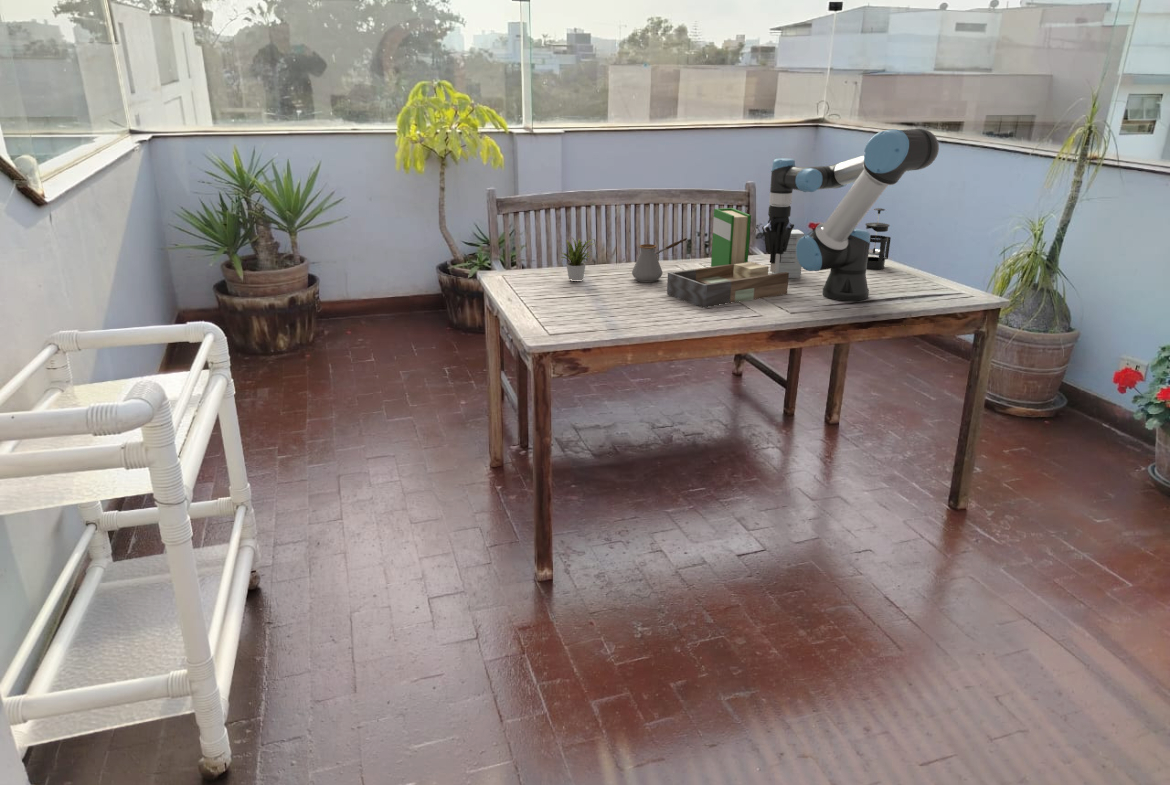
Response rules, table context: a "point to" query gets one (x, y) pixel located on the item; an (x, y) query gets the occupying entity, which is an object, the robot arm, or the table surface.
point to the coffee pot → (649, 263)
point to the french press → (879, 262)
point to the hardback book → (730, 237)
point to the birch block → (749, 270)
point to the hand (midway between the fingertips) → (774, 271)
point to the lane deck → (723, 285)
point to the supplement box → (791, 256)
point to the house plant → (576, 260)
